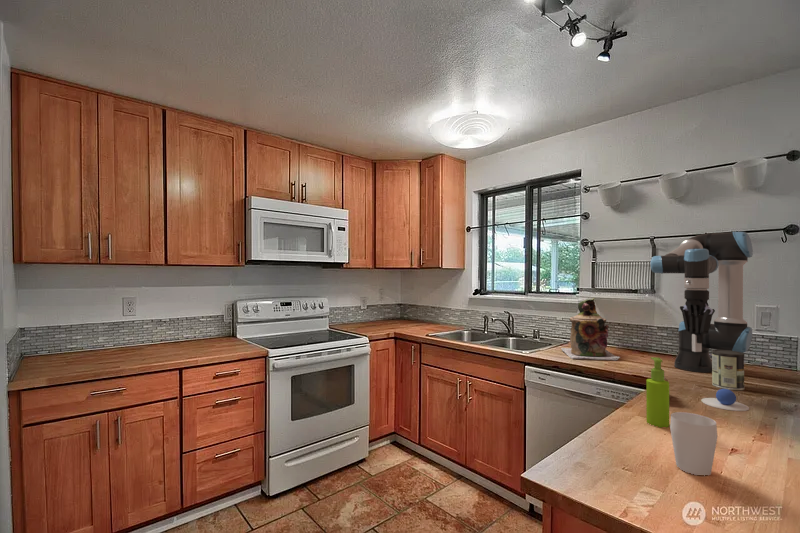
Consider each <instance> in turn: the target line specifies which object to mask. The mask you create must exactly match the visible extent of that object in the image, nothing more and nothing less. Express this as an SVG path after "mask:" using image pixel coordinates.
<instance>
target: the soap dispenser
mask: <svg viewBox="0 0 800 533" xmlns="http://www.w3.org/2000/svg"><path fill="white" fill-rule="evenodd" d="M650 359H651V360H653V361H654V362H653V365H654V366H653V367H652V368H651V369H650V378H647V379H646V380H645V381H646V383H645V384H646V396H645V397H646V398H645V399H646V403H645V404H646V408H645V410H646V423H647V424H648V423H649V424H648V425H650V424H651V425H650V426H652V425H654V426H653V427H656V426H658V427H657V428H662V427H666V428H670V382H669V381H668V382H667V381H665V380H664V377H665V369H663V368H662V363H663V359H662V358H660V357H656V356H655V357H653V356H651V357H650Z"/></svg>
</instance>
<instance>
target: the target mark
mask: <svg viewBox="0 0 800 533" xmlns="http://www.w3.org/2000/svg"><path fill="white" fill-rule="evenodd" d="M700 402H702V403H703V404H705V405H706V406H709V407H712V408H715V409H721V410H727V411H731V412H732V411H734V412H735V411H736V412H745V411H746V412H747V411H749V410H750V407H749V405H746V404H744V403H742V402H739V401H735V403H734V404H732V405H724V404H722V403H720V402H719V401H718V400H717V398H716V397H703V398H701V401H700Z"/></svg>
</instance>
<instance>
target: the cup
mask: <svg viewBox="0 0 800 533" xmlns="http://www.w3.org/2000/svg"><path fill="white" fill-rule="evenodd" d="M717 427H718V426H717V421H715V420H714V419H713V418H711V417H708V416H706V415H701V414H698V413H693V412H688V411H687V412H686V411H677V412H676V411H675V412H672V413H671V414H670V422H669V428H670V435H671V440H672V448H673V453H674V459H675V460H674V461H675V465H677V466H676V467H677V468H678V467H679V468H680V471H682V470H683V471H682V472H684V471H685V472H684V473H687V472H688V473H687V474H689V473H691V474H690V475H693V474H694V476H697V475H704V476H703V477H706V476H705V475H708V476H710V475H712V469H713V464H714V458H715V453H716V449H717V448H716V447H717V441H718V428H717ZM679 468H678V469H679Z"/></svg>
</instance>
